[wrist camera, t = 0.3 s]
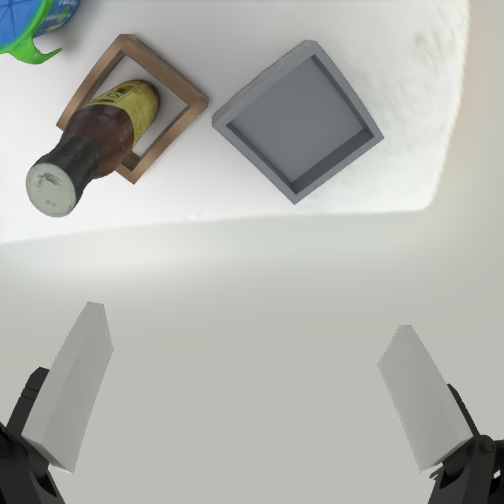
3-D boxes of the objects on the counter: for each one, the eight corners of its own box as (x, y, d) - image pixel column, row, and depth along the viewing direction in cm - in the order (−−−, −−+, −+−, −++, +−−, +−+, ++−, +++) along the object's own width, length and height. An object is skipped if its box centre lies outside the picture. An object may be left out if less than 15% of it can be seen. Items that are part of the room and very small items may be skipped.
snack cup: (102, 40, 23) (59, 47, 15) (32, 73, 23) (-18, 94, 15) (89, -61, 12) (49, -81, 5) (18, -22, 12) (-32, -22, 5)
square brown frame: (131, 34, 23) (119, 34, 20) (209, 99, 30) (207, 106, 27) (70, 115, 28) (55, 125, 25) (141, 169, 34) (134, 184, 31)
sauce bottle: (144, 68, 26) (56, 115, 11) (170, 110, 30) (119, 199, 15) (99, 99, 27) (-1, 178, 13) (126, 138, 31) (54, 244, 17)
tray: (305, 40, 25) (316, 41, 23) (370, 127, 33) (384, 138, 30) (212, 116, 31) (211, 125, 28) (288, 188, 39) (294, 204, 36)
